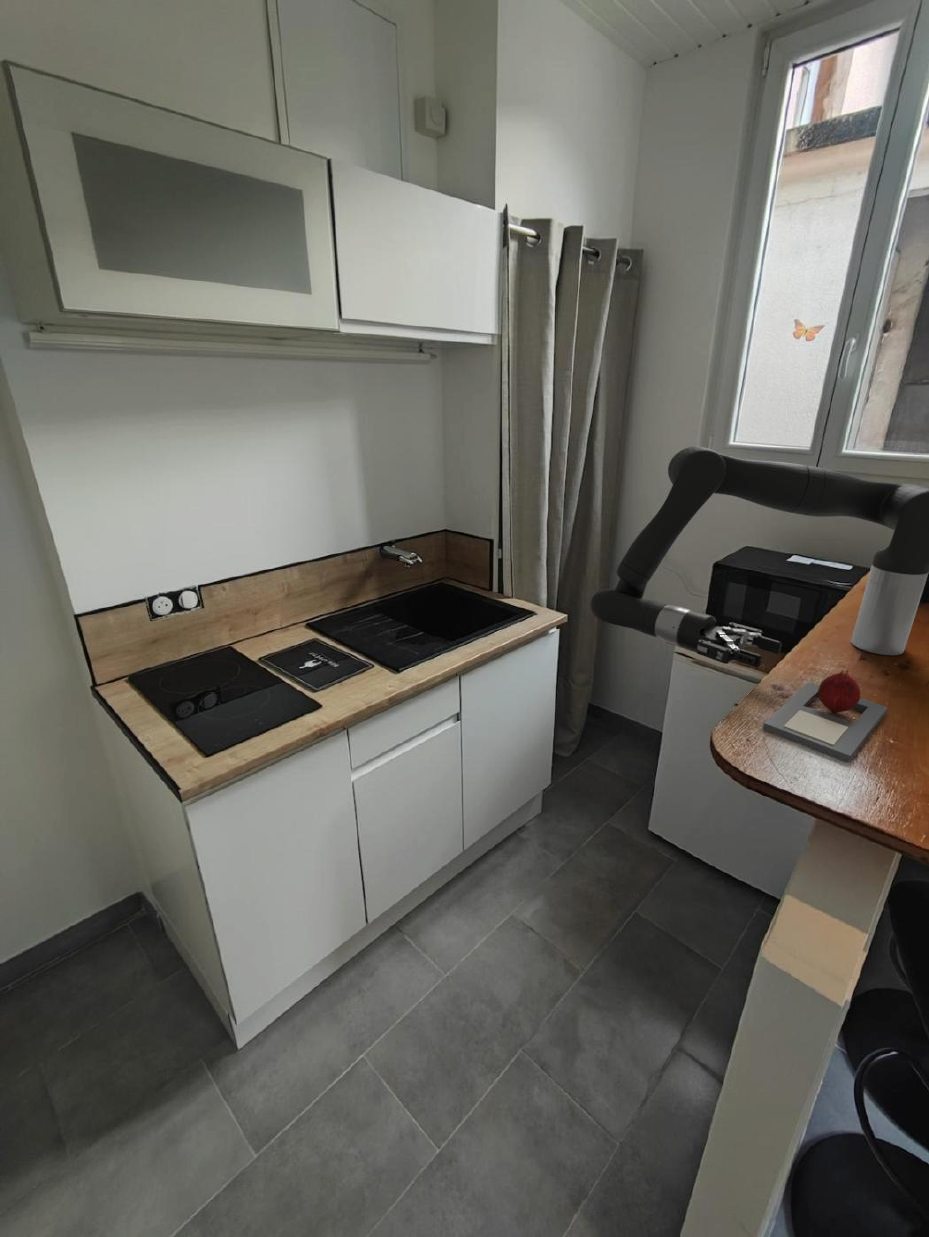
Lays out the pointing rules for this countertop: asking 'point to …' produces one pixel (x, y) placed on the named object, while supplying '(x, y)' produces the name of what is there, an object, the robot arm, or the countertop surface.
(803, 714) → the tray
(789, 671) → the countertop surface
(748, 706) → the countertop surface
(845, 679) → the onion
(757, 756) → the countertop surface
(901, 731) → the countertop surface
